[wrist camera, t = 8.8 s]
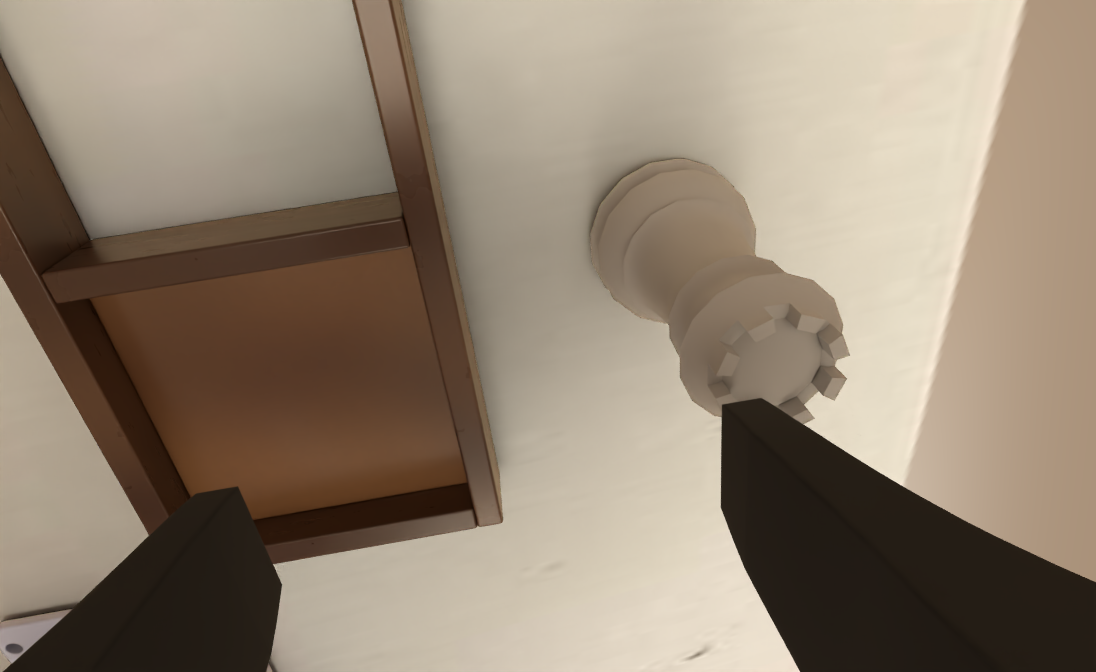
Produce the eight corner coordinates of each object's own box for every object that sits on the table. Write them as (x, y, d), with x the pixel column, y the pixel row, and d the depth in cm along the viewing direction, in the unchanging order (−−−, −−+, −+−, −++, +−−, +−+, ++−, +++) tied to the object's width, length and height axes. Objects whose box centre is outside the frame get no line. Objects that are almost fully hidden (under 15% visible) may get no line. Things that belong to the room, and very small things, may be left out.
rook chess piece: (768, 197, 19) (953, 322, 12) (684, 324, 20) (801, 501, 13) (638, 124, 17) (758, 216, 10) (558, 267, 19) (615, 430, 12)
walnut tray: (499, 473, 22) (503, 524, 20) (202, 525, 22) (174, 582, 20) (346, -266, 13) (324, -315, 11) (-170, -202, 13) (-294, -239, 11)
